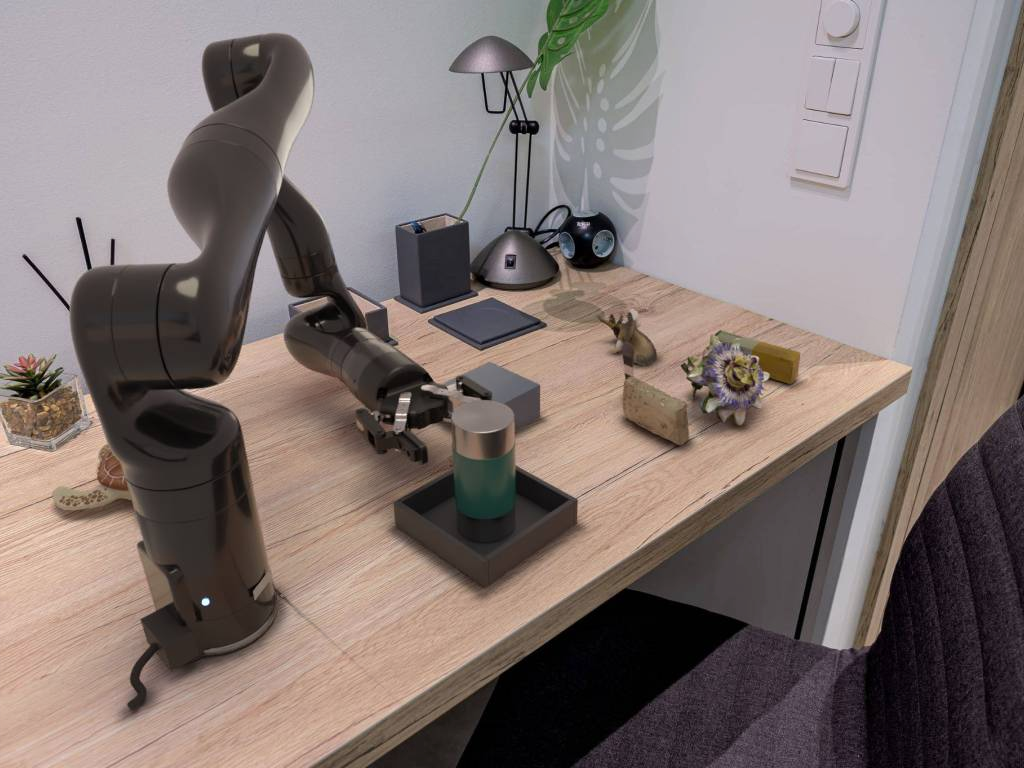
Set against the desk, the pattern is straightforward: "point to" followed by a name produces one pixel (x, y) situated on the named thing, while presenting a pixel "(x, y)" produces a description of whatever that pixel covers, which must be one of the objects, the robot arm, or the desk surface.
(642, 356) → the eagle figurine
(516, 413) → the stand
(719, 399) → the passion flower
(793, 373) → the medication box
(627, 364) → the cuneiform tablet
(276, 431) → the desk surface
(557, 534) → the tray
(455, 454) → the can
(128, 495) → the decorative turtle
